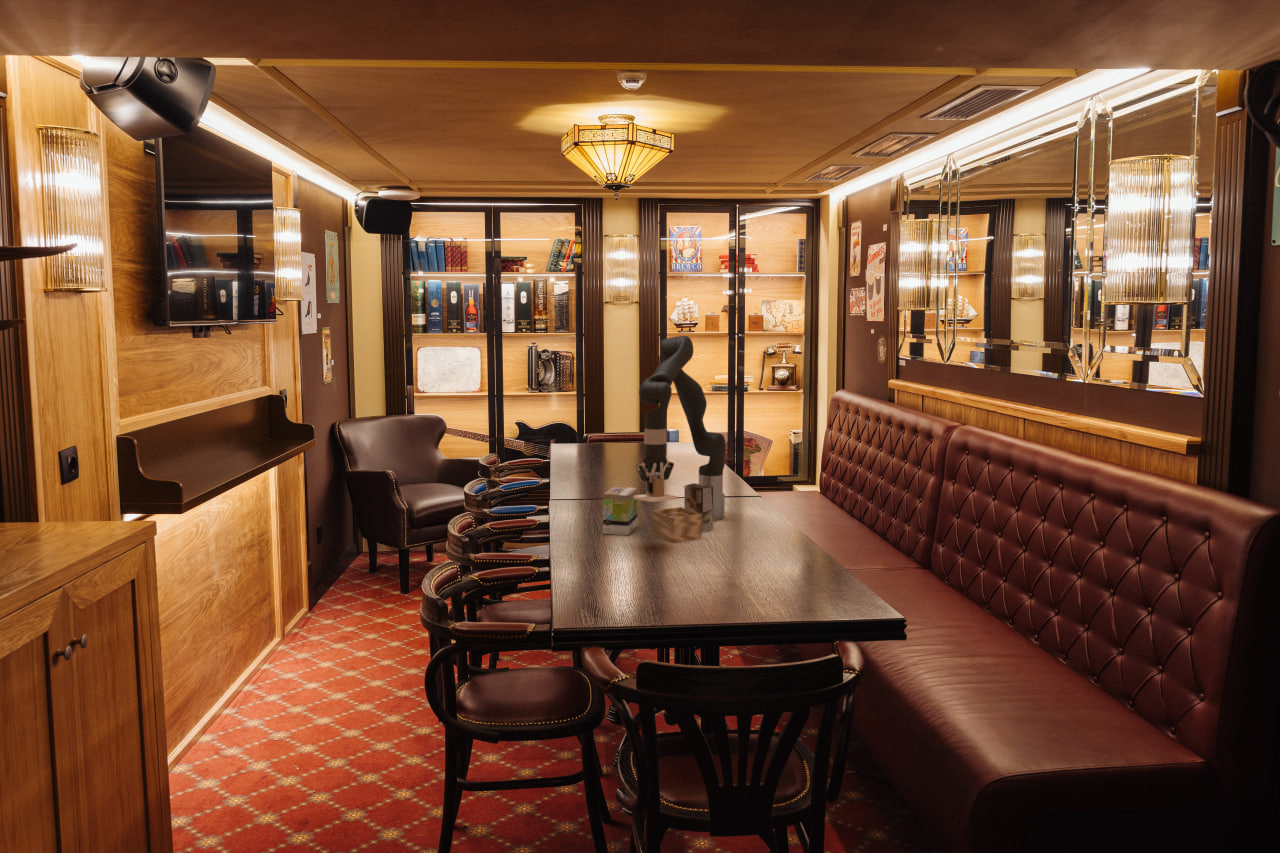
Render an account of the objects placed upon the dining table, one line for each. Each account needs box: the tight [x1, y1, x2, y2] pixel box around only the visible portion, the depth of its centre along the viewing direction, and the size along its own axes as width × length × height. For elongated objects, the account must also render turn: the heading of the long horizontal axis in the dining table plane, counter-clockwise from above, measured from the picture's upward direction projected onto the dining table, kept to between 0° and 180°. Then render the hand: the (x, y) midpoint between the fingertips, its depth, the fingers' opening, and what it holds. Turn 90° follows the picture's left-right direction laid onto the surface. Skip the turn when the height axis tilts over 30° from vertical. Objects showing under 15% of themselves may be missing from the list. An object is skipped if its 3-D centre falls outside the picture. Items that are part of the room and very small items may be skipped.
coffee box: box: [683, 482, 714, 533], centre depth 323 cm, size 9×6×16 cm
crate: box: [651, 506, 703, 544], centre depth 312 cm, size 12×14×9 cm
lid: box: [633, 476, 678, 503], centre depth 295 cm, size 10×12×7 cm
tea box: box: [602, 486, 639, 536], centre depth 321 cm, size 15×10×15 cm, turn 168°
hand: (655, 492), depth 295 cm, fingers closed on lid, 3 cm apart
